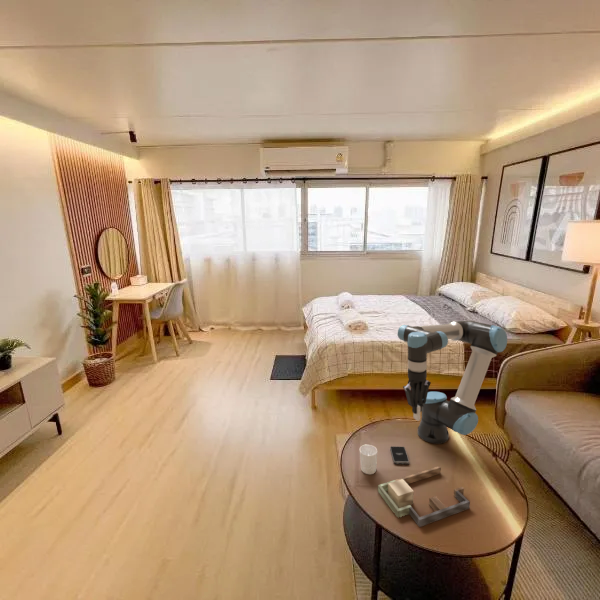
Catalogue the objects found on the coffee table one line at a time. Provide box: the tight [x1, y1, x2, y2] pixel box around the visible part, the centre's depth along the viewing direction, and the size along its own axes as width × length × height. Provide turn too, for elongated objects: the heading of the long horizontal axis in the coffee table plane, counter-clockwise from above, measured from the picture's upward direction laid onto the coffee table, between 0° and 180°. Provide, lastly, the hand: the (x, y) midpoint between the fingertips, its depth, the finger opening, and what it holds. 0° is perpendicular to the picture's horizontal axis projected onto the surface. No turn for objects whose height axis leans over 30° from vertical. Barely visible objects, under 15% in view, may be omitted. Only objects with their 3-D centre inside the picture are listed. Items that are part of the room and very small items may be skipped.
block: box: [387, 479, 415, 508], centre depth 131 cm, size 7×7×6 cm
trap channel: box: [377, 465, 471, 528], centre depth 131 cm, size 31×20×3 cm, turn 108°
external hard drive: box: [389, 445, 410, 466], centre depth 156 cm, size 7×11×2 cm, turn 174°
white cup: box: [359, 444, 378, 475], centre depth 148 cm, size 8×8×10 cm
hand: (416, 419), depth 142 cm, fingers closed
